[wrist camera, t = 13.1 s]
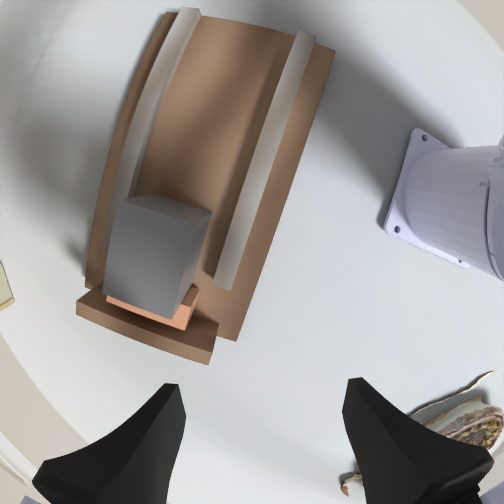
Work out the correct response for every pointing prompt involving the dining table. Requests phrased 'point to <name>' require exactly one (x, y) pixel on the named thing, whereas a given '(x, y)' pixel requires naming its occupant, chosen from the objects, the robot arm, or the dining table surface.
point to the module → (154, 252)
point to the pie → (464, 424)
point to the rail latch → (177, 321)
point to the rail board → (209, 162)
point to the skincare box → (4, 290)
